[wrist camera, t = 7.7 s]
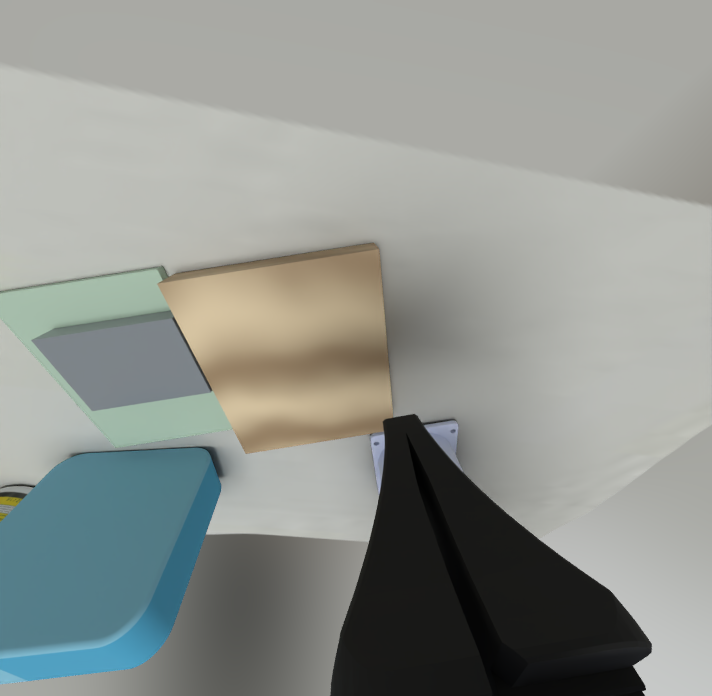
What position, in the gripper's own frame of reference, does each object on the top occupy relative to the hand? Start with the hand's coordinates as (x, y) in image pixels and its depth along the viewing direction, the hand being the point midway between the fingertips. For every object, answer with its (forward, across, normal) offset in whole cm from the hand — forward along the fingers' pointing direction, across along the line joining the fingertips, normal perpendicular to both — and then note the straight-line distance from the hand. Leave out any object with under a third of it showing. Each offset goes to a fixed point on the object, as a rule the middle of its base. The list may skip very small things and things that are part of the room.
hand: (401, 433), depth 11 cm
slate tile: (+9, +15, -1) cm, 18 cm away
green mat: (+9, +17, 0) cm, 19 cm away
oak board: (+9, +5, +1) cm, 11 cm away
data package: (+10, +21, +10) cm, 25 cm away
